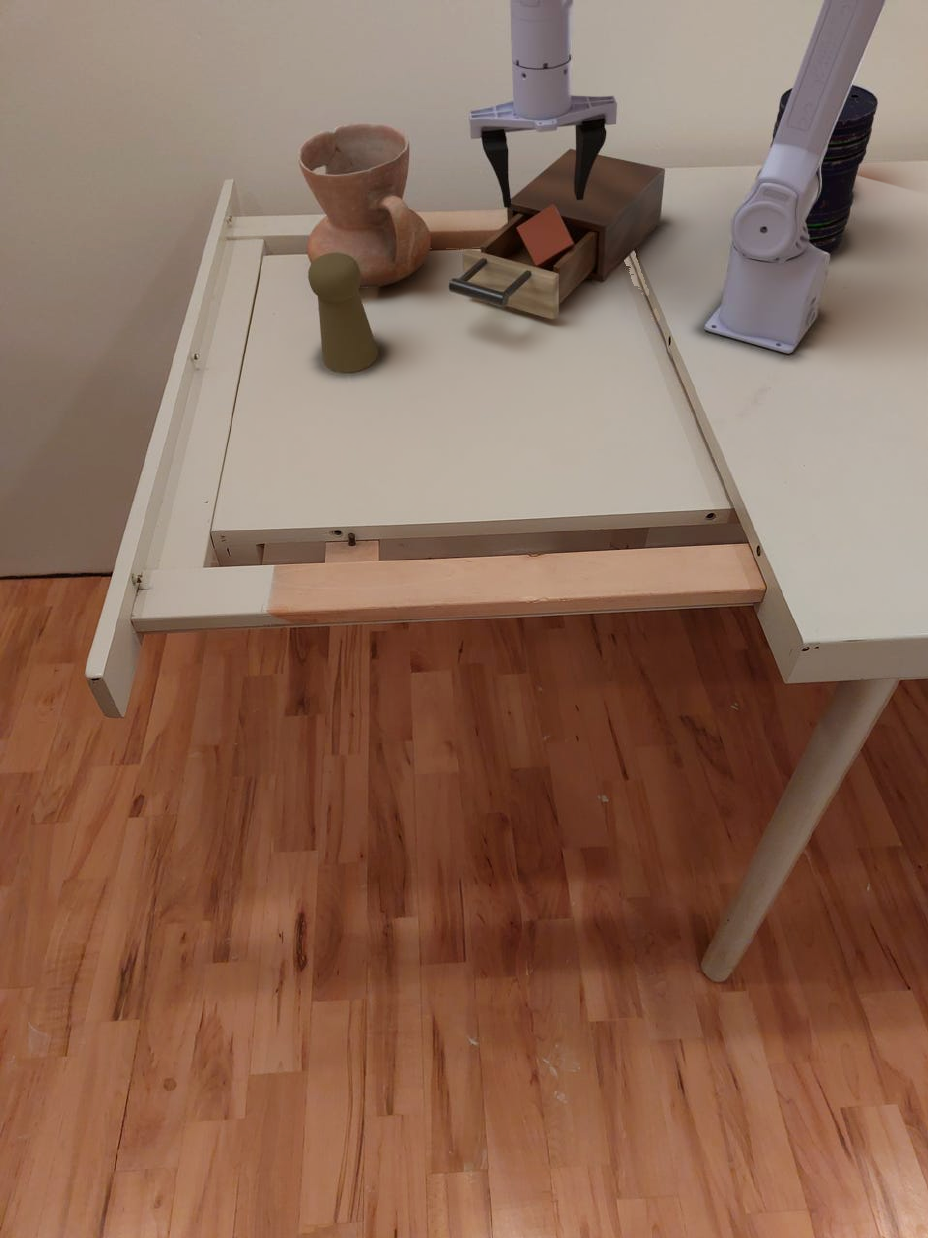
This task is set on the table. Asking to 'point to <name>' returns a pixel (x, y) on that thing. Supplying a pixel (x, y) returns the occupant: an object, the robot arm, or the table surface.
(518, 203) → the cabinet
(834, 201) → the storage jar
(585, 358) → the table surface
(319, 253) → the ceramic jug
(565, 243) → the block
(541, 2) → the robot arm
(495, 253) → the drawer
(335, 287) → the olive green pawn
